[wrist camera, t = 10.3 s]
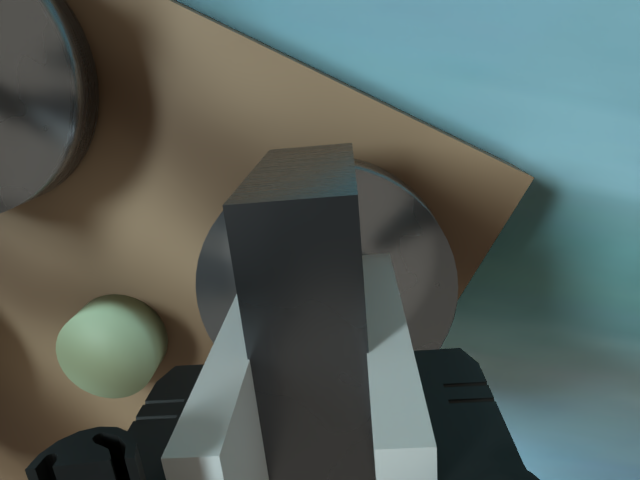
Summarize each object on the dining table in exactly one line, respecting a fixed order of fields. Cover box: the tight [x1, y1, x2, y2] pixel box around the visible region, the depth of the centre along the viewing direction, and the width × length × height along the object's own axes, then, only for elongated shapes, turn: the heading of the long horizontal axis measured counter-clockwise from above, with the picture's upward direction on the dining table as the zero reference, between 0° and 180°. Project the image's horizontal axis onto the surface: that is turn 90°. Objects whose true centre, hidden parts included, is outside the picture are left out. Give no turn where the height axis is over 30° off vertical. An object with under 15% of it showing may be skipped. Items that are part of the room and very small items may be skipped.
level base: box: [0, 0, 534, 480], centre depth 16 cm, size 18×20×3 cm
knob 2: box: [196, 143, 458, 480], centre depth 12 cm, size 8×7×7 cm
